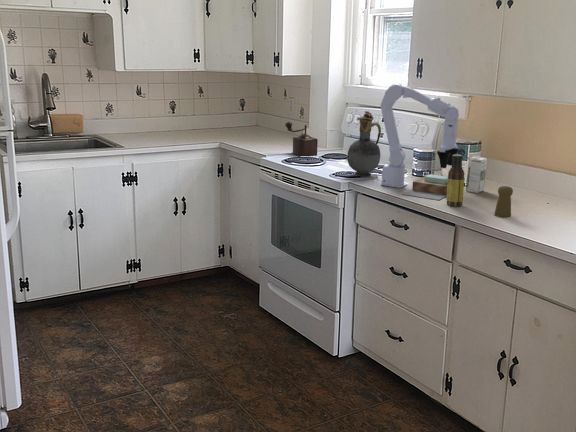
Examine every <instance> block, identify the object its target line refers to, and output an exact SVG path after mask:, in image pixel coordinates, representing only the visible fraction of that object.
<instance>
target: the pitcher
mask: <svg viewBox="0 0 576 432" xmlns="http://www.w3.org/2000/svg"><path fill="white" fill-rule="evenodd" d="M373 120H374V115H373V114H372V112H370V111H369V110H368V111H367V110H366V111H364V112H363V116H360V117H358V116H357V117H356V121H359V139H358V140H356V141H354V142H353V143H351V144H350V145H349V147H348V151H347V155H346V157H347V158H346V159H347V163H348V167H350V168H351V169H352V170H353V171H354V172H355V173H354V176H355V175H357V176H356V177H358V176H360V178H361V177H362V178H367V176H368V177H371V176H372V173H371V172H373V171H375V170H376V169H377V168H378V166H379V164H380V161H381V149H380V147H379V145H378V143H379V141H380V137H381V134H382V127H381V125H380V123H379V122H377V121H373ZM374 126H376V127H377V130H378V133H377V139H376V142H375V141H372V140H371V132H372V128H373V127H374Z"/></svg>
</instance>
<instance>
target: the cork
mask: <svg viewBox="0 0 576 432" xmlns="http://www.w3.org/2000/svg"><path fill="white" fill-rule="evenodd" d="M497 193H498V198H497V202H496V206H495V210H494V214H493V216H495V217H498V218H503V219H504V218H506V219H509V218H511V217H512V202H511V201H512V196H513V193H514V190H513V188H512V187H511V186H508V185H502V186H500V187H498V189H497Z"/></svg>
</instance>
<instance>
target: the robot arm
mask: <svg viewBox="0 0 576 432" xmlns="http://www.w3.org/2000/svg"><path fill="white" fill-rule="evenodd" d="M383 95H384V96H383V97H382V100H381V103H380V109H381V110H380V111H381V114H382V120H383V123H384V127H385V132H386V138H387V142H388V146H389V147H388V148H389V150H388V151H389V157H388V161H389V163H388V164H387V163H386V164H384V165H383V166H382V170H381V181H380V186H385V187H391V188H392V187H393V188H399V189H400V188H403V187H406V186H407V185H408V183H405V173H406V164H405V163H404V162H405V161H404V160H405V159H406V153H405V151H404V150H403V148H402V145H401V144H402V143H400V138H399V134H398V133H399V132H398V129H397V123H396V118H395V114H394V109H393V106H394V105H395V104H396V102H397V101H398V100H399V99H400V98H402V99H405V98H406V99H407V98H408V99H409V98H410V99H412V100H414V101H417V102H419V103H421V104H424V105H426V106H427V109H428V111H430V112H432V113H434V114H436V115H438V116H440V117H444V123H443V125H442V126H443V127H442V128H443V129H442V139H441V145H440V147H439V150H436V154H437V156H438V159H439V165H440V168H441V169H447V166H451V167H452V155H454V154H459V151H460V150H459V149H458V148H459V145H457V135H458V134H457V133H458V118H459V116H460V114H459V109H458V108H457V107H456V106H455V105H452V104H451V103H450V102H449V103H448V102H445V101H443V100H441V98H440V97H433V98H432V97H431V98H430V97H428V96H426V95H425V94H423V93H421V92H419V91H417V90H416V89H413V88H411V87H410V86H407V85H404V84H403V85H402V84H401V83H399V82H395V83H393V84H391V85H389V87H388V88H387V89H386V91H385V92H384V94H383Z"/></svg>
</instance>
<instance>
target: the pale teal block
mask: <svg viewBox="0 0 576 432" xmlns="http://www.w3.org/2000/svg"><path fill="white" fill-rule="evenodd" d="M423 177H424V181H427V182H434V183H441V184H445V183H447V182H448V176H444V175H439V174H432V173H431V174H427V175H425V176H423Z"/></svg>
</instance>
